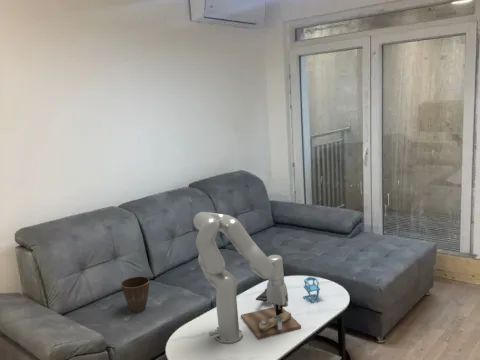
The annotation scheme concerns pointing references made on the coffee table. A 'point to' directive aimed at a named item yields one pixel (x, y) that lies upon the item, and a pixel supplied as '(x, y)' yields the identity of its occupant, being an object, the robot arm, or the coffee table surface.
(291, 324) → the walnut board
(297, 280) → the coffee table surface
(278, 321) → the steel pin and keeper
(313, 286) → the chair
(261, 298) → the zipper pull
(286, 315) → the link
